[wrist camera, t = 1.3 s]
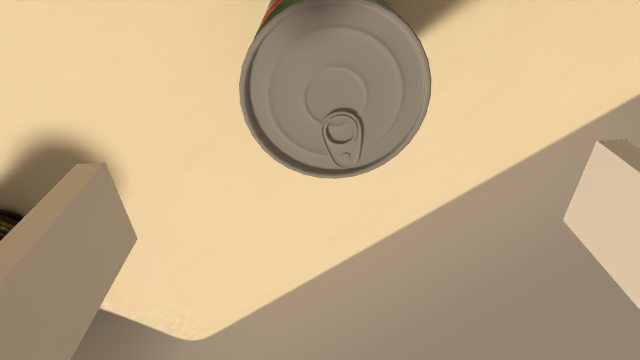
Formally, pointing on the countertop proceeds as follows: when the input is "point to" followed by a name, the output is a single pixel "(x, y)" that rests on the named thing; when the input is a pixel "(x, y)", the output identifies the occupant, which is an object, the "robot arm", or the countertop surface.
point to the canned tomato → (334, 85)
